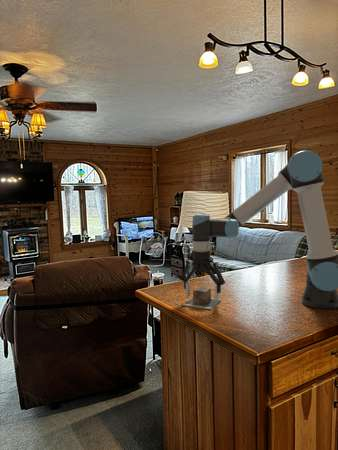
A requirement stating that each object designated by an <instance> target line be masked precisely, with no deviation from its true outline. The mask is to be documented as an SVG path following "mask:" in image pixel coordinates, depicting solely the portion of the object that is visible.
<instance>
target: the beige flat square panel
mask: <svg viewBox="0 0 338 450" xmlns="http://www.w3.org/2000/svg"><path fill="white" fill-rule="evenodd" d="M220 308H221V306H217V307H216V308H215V309H216V310H219V309H220ZM221 310H223V311H229V309H227V308H221Z"/></svg>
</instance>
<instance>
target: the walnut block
mask: <svg viewBox="0 0 338 450" xmlns="http://www.w3.org/2000/svg"><path fill="white" fill-rule="evenodd" d="M192 298H193V304H199V305H207V304H208V303H210V302H211V298H212V288H211V287H204V286H197V287H195V288H193V289H192Z"/></svg>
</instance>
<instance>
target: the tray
mask: <svg viewBox="0 0 338 450" xmlns="http://www.w3.org/2000/svg"><path fill="white" fill-rule="evenodd" d="M221 302H222V299H220V298H219V300H218V301H215V297H214V298H213V297H211V302H210V303H208V304H207V305H199V304H193V297H192V298H190V299H189V300H187V301H186V302H185V303H182V307H186V308H187V307H188V308H193V309H199V310H205V311H212V310H213V309H214V308H215V307H216V306H218V305H219V304H220V303H221Z"/></svg>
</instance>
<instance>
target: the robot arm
mask: <svg viewBox="0 0 338 450" xmlns="http://www.w3.org/2000/svg"><path fill="white" fill-rule="evenodd" d="M277 174H278V175H277V176H276V177H275V178H273V179H272V180H271V181H269V182H267V184H266V185H264V186H263V187H262V188H261V189H259V190H258V191H257V192H256V193H255V194H253V195H252V196H250V197H249V198H248V199H247V200H246V201H244V202H243V203H241V205H239V206H238V207H237V208H235V209H234V210H233V211H232V212H230V213H229V214H227V215H226V216H225V217H224V218H221V219H217V218H216V219H212V218H211V216H210V214H194V215H193V216H192V225H191V226H192V227H191V228H192V250H193V251H192V260H191V259H187V260H186V261H185V267H184V269H183V271H182V273H181V275H180V277H179V280H180V281H182V282H183V289H184V290H185V298H189V297H190V296H191V281H189V280H190V279H191V278H192V277H193V275H194V274H195V273H196V272H198V273H200V272H201V273H206V274H208V276H209V277H210V279H211V280H212V281H213V282H214V299H215V301H218V300H219V299H220V295H219V294H220V293H221V292H222V290H221V289H222V286H224V285H225V284H226V281H225V278H224V277H223V274H222V272H221V270H220V268H219V263H218V261H214V262H212V261H211V251H210V250H211V238H230V239H231V238H237V237H238V236H239V232H240V228H241V227H242V226H244V224H246V223H247V222H248V221H250V220H251V219H252V218H254V217H255V216H256V215H257V214H259V213H260V212H261V211H263V210H265V209H266V207H268V206H269V205H271V204H272V203H273V202H275V201H276V200H277V199H278V198H280V197H281V196H283V194H285V193H287V192H288V191H289V190H292V191H294V192H295V193H296V194H297V198H298V204H299V208H300V213H301V218H302V223H303V227H304V232H305V233H304V234H305V238H306V243H307V247H308V251H307V253H306V257H305V258H306V259H305V260H306V274H305V275H306V276H305V278H306V281H305V282H306V283H305V287H304V290H303V293H302V296H301V304H303V305H304V306H307V307H310V308H313V309H317V310H318V309H320V310H333V309H334V310H335V309H338V251H337V250H335V249H334V247H333V241H332V237H331V231H330V227H329V221H328V218H327V212H326V207H325V202H324V198H323V197H324V196H323V192H322V187H323V185H324V184H325V180H324V174H323V161H322V158H321V157H320V156H319V154H317V153H316V152H315V151H312V150H300V151H298V152H296V153H293V154H292V155H291V157H290V159H289V160H288V163H286V165H285V166H284V167H283V168H282V169H281V170H280V171H278V173H277ZM191 266H193V268H192V269H191V271H190V272H189V270H190V267H191ZM211 267H212V268H213V270H212V268H211ZM213 271H214V272H213ZM188 272H189V273H188Z"/></svg>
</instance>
